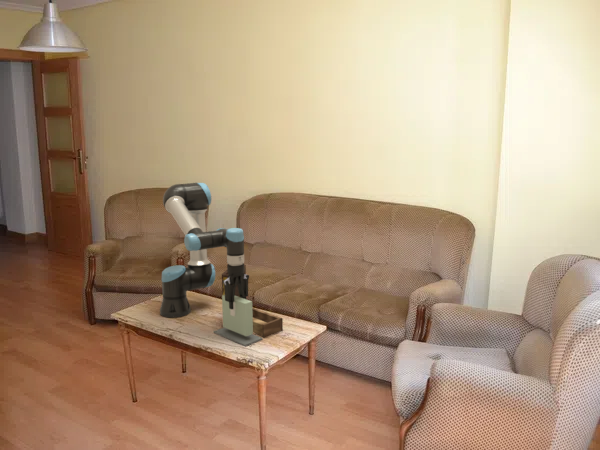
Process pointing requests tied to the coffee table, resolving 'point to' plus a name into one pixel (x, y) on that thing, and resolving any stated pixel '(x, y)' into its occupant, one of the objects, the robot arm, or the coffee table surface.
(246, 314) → the pale green slab
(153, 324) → the coffee table surface
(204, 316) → the coffee table surface
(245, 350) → the coffee table surface
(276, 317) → the frame
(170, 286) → the robot arm
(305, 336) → the coffee table surface
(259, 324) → the brown wooden bar
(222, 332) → the mat
